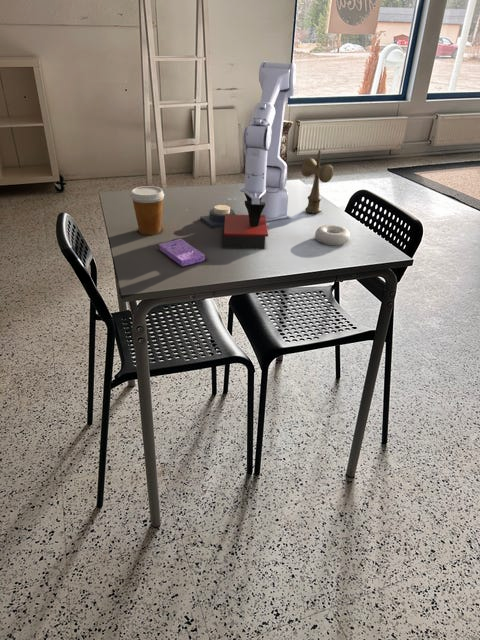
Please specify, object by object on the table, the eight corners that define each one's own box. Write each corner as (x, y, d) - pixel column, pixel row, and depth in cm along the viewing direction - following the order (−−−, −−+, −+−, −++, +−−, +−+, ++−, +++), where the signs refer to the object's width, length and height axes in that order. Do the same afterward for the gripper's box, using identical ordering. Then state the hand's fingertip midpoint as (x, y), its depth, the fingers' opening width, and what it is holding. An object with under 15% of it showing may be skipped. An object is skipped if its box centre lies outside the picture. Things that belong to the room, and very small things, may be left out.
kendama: (310, 206, 169) (316, 145, 158) (329, 214, 162) (337, 151, 152) (296, 209, 166) (302, 147, 155) (316, 218, 159) (323, 154, 149)
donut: (346, 250, 138) (351, 236, 146) (348, 238, 136) (353, 225, 144) (311, 244, 141) (318, 231, 149) (312, 233, 139) (319, 220, 147)
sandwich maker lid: (265, 217, 148) (266, 204, 146) (268, 236, 135) (268, 223, 133) (225, 216, 148) (225, 203, 146) (224, 235, 135) (224, 222, 133)
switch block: (231, 214, 160) (231, 205, 158) (243, 222, 154) (244, 212, 153) (200, 219, 155) (200, 210, 153) (212, 227, 149) (212, 218, 148)
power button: (225, 209, 156) (225, 203, 155) (232, 214, 153) (232, 208, 152) (211, 211, 154) (211, 206, 153) (218, 216, 150) (218, 210, 149)
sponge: (181, 244, 138) (181, 238, 137) (205, 260, 129) (205, 254, 128) (158, 250, 134) (158, 243, 133) (181, 267, 126) (181, 260, 125)
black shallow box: (262, 228, 150) (262, 217, 148) (264, 249, 137) (265, 236, 135) (224, 227, 150) (225, 216, 148) (223, 248, 137) (224, 235, 135)
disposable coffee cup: (151, 239, 140) (148, 198, 134) (126, 232, 144) (122, 191, 138) (173, 229, 147) (171, 189, 141) (148, 222, 151) (145, 183, 145)
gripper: (240, 165, 140) (239, 212, 147) (241, 180, 127) (239, 230, 134) (265, 166, 140) (263, 212, 147) (268, 180, 127) (265, 230, 134)
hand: (253, 221), depth 141 cm, fingers open, 7 cm apart
